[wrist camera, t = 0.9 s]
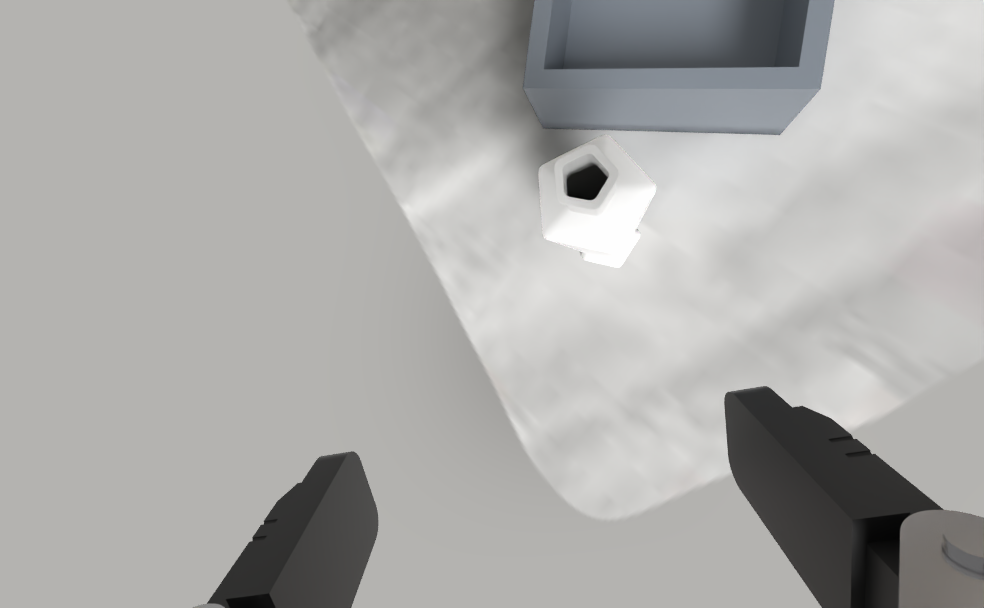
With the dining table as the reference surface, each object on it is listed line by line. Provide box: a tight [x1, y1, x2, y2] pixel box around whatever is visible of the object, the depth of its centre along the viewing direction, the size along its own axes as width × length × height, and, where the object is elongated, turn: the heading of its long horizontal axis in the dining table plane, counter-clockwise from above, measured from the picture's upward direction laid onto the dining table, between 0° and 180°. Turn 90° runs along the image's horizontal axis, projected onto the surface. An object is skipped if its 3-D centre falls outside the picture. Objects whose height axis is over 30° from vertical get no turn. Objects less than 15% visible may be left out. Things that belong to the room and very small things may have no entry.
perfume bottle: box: [538, 135, 656, 267], centre depth 22 cm, size 5×4×15 cm
